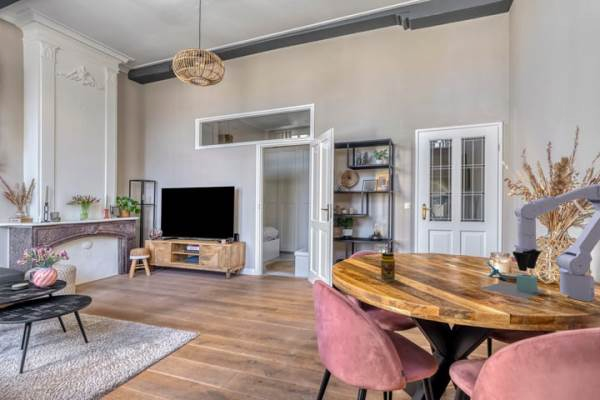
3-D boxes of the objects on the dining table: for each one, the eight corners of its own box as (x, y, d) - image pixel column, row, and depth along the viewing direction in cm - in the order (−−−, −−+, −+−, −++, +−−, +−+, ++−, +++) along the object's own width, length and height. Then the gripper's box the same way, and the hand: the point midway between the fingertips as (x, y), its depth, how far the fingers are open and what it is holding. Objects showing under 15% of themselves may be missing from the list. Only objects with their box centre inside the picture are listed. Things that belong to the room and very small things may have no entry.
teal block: (537, 291, 118) (537, 276, 118) (531, 293, 115) (531, 277, 115) (522, 288, 122) (522, 273, 122) (516, 290, 119) (516, 275, 119)
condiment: (387, 281, 136) (387, 255, 136) (374, 277, 144) (374, 252, 144) (399, 279, 140) (399, 253, 140) (386, 276, 147) (386, 251, 147)
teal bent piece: (508, 279, 135) (489, 261, 139) (497, 287, 136) (478, 269, 141) (506, 277, 144) (489, 261, 149) (496, 285, 146) (479, 268, 150)
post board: (546, 293, 119) (546, 280, 119) (527, 301, 109) (527, 287, 109) (501, 284, 132) (501, 272, 132) (480, 290, 122) (480, 278, 122)
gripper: (522, 232, 126) (522, 265, 126) (506, 234, 118) (506, 269, 118) (543, 234, 120) (543, 268, 120) (528, 236, 112) (528, 273, 112)
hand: (526, 269), depth 118 cm, fingers open, 7 cm apart
